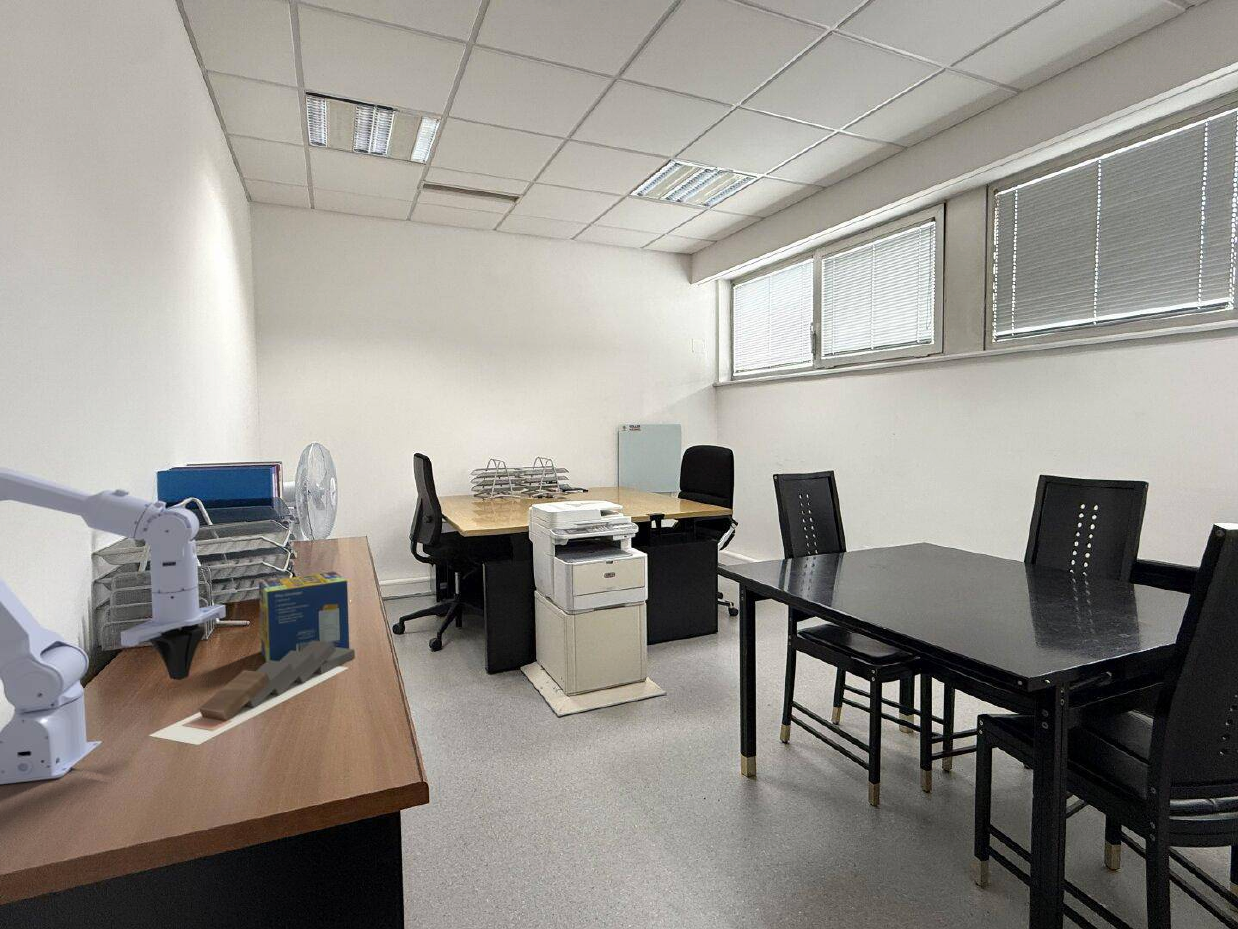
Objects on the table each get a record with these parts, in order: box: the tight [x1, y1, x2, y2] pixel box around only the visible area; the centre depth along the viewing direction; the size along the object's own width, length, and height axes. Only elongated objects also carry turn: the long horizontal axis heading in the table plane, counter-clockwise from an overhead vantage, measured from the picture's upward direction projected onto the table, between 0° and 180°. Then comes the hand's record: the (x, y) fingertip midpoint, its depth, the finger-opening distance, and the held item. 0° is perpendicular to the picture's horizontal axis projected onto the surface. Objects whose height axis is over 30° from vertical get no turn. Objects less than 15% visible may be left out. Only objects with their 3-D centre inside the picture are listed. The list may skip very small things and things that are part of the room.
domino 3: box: [270, 650, 315, 696], centre depth 112 cm, size 2×5×9 cm
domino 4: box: [294, 641, 336, 684], centre depth 117 cm, size 2×5×9 cm
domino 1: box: [198, 669, 270, 721], centre depth 102 cm, size 2×5×9 cm
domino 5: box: [313, 647, 356, 675], centre depth 122 cm, size 2×5×9 cm
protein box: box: [258, 571, 350, 662], centre depth 130 cm, size 10×15×16 cm
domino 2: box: [243, 660, 294, 708], centre depth 107 cm, size 2×5×9 cm
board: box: [148, 665, 349, 746], centre depth 107 cm, size 31×10×1 cm, turn 163°
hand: (179, 677), depth 93 cm, fingers closed
